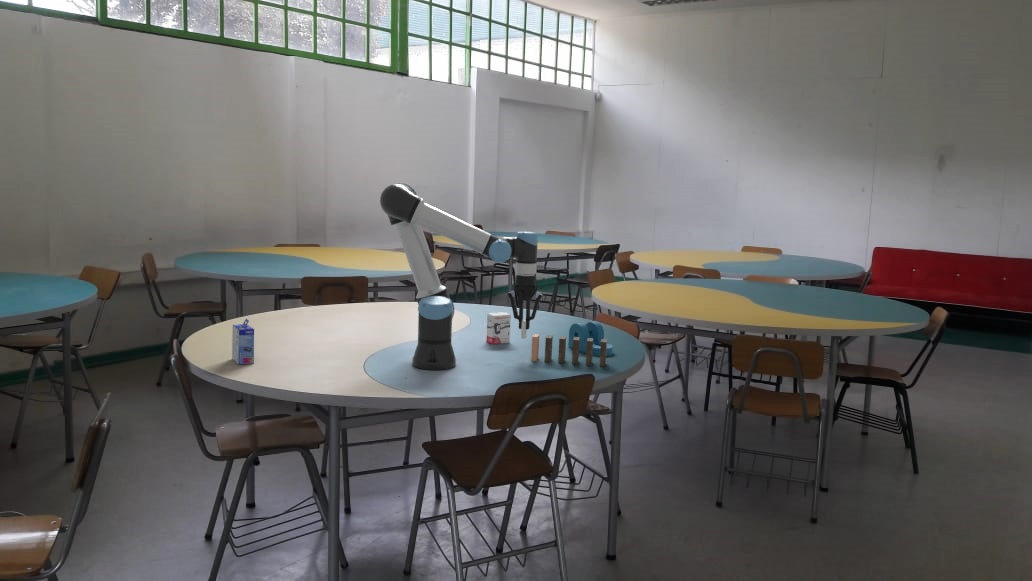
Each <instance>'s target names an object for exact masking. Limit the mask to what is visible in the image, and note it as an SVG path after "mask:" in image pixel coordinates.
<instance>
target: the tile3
mask: <svg viewBox="0 0 1032 581" xmlns="http://www.w3.org/2000/svg"><path fill="white" fill-rule="evenodd" d="M566 344H567V336H566V335H565V336H564V335H560V336H559V341H558V356H557V357H558V358H557V363H558V364H565V361H566V348H567V347H566V346H567V345H566Z"/></svg>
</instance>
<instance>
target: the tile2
mask: <svg viewBox="0 0 1032 581" xmlns="http://www.w3.org/2000/svg"><path fill="white" fill-rule="evenodd" d="M553 338H554V336H553V335H552V334H547V335H546V337H545V341H544V342H545V343H544V344H545V346H544V363H550V362H551V361H552V356H553Z"/></svg>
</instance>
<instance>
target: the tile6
mask: <svg viewBox="0 0 1032 581" xmlns="http://www.w3.org/2000/svg"><path fill="white" fill-rule="evenodd" d="M607 344H608V339H606V338H604V339H601V348H600V356H599V367H604V368H606V365H607V364H606V363H607V362H606V361H607V356H606V349H607Z"/></svg>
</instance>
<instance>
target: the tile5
mask: <svg viewBox="0 0 1032 581" xmlns="http://www.w3.org/2000/svg"><path fill="white" fill-rule="evenodd" d="M592 354H593V338H588V339H587V349H586V353H585V366H592V364H593V355H592Z"/></svg>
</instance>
